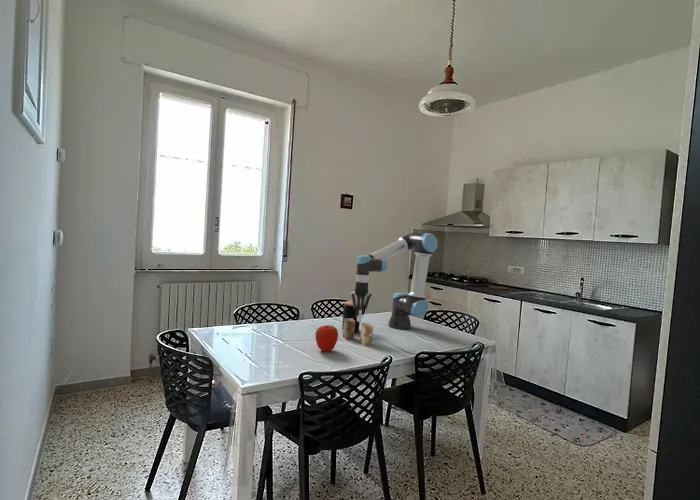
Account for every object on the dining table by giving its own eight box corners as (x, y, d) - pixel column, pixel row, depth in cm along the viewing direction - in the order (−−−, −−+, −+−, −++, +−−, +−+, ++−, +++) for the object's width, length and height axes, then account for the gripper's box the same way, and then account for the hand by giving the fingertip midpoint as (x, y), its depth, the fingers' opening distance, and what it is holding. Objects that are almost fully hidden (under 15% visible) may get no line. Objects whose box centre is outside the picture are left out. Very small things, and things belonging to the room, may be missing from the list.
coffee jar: (352, 334, 239) (354, 305, 238) (338, 330, 245) (340, 302, 244) (362, 331, 247) (364, 303, 246) (348, 327, 254) (350, 300, 253)
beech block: (368, 341, 227) (369, 323, 226) (372, 345, 221) (373, 325, 220) (359, 342, 225) (361, 323, 224) (363, 345, 219) (364, 325, 219)
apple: (325, 345, 214) (327, 320, 213) (342, 351, 206) (344, 324, 206) (309, 350, 204) (311, 323, 204) (326, 356, 197) (328, 328, 196)
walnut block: (350, 336, 235) (352, 318, 234) (354, 339, 229) (355, 320, 229) (342, 336, 233) (343, 318, 233) (345, 339, 228) (347, 320, 227)
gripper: (370, 280, 237) (367, 319, 238) (349, 280, 232) (346, 319, 234) (374, 282, 229) (371, 322, 231) (353, 282, 225) (350, 322, 227)
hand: (358, 321), depth 232 cm, fingers closed
